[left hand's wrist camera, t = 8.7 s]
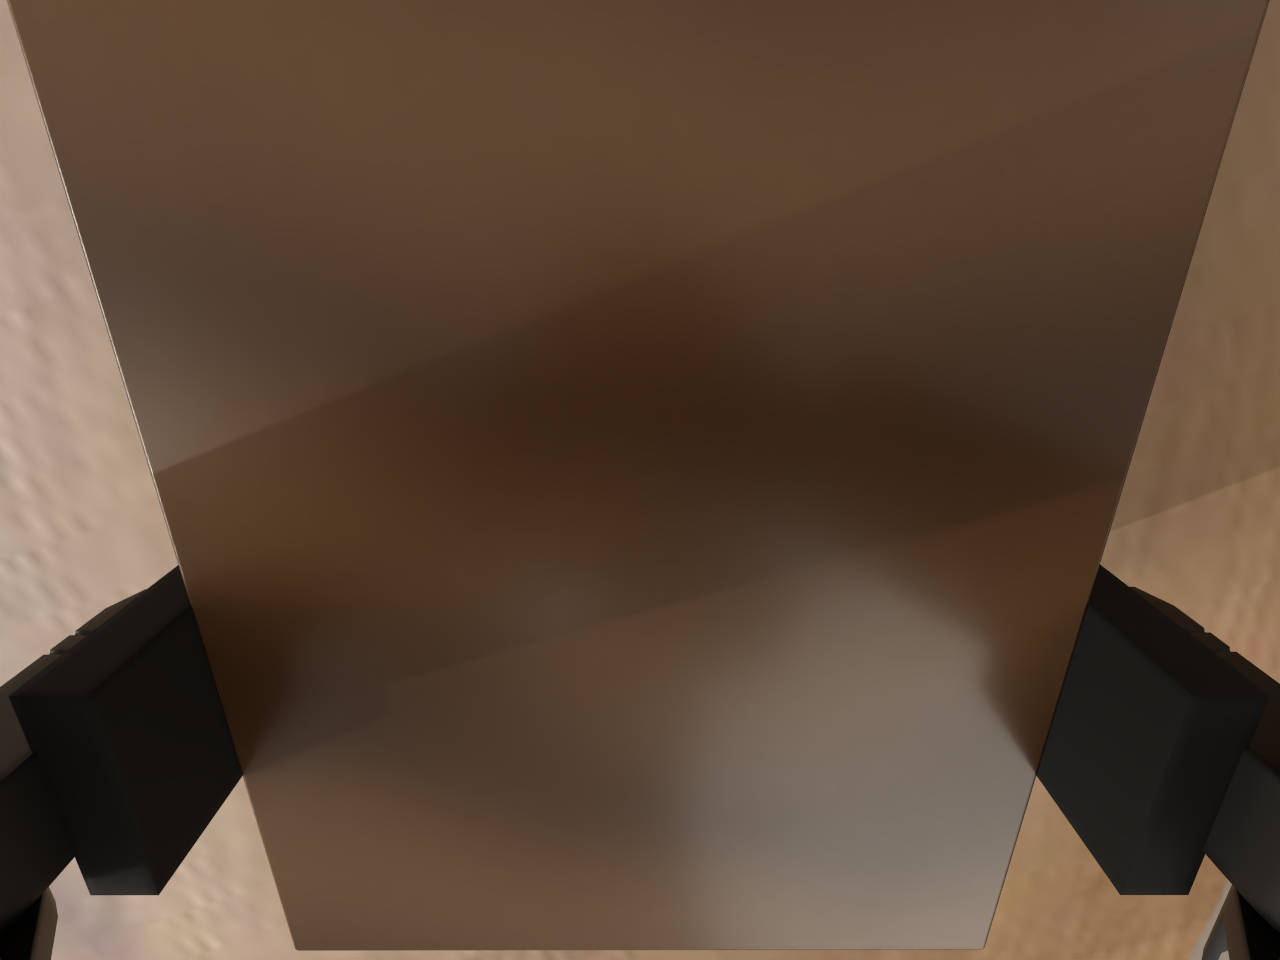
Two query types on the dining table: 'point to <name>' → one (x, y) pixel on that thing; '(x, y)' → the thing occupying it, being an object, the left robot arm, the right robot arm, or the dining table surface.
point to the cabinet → (638, 428)
